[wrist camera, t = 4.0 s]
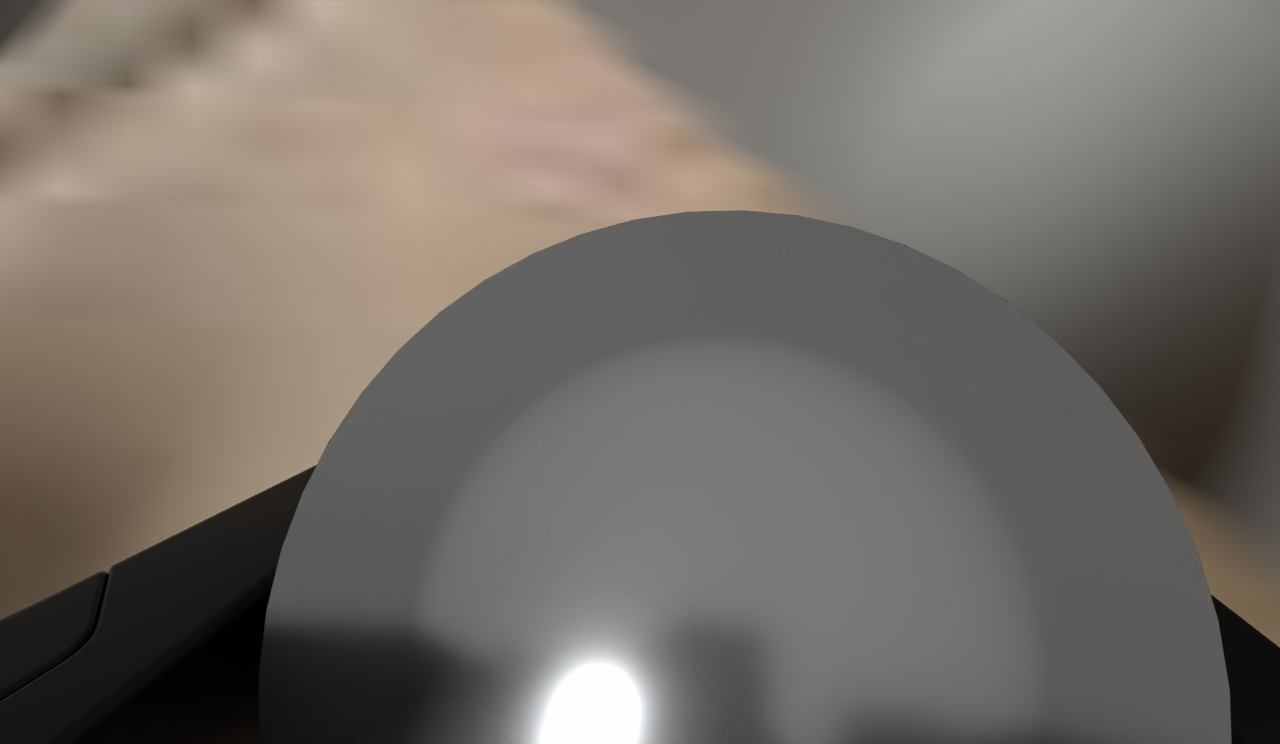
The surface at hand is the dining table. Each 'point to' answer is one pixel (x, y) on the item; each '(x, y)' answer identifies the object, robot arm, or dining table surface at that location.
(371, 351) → the dining table surface
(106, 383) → the dining table surface
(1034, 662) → the metal tumbler
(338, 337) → the dining table surface
